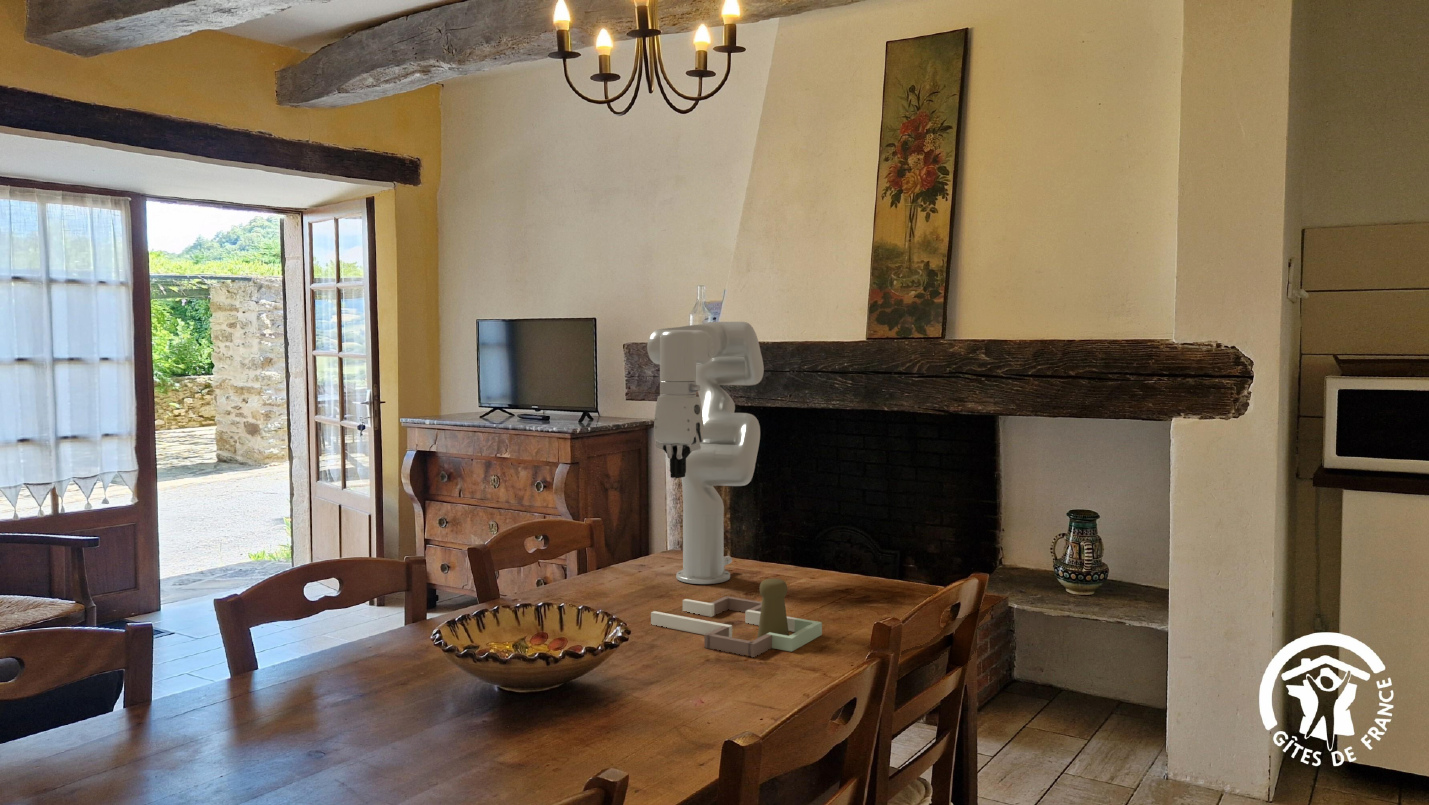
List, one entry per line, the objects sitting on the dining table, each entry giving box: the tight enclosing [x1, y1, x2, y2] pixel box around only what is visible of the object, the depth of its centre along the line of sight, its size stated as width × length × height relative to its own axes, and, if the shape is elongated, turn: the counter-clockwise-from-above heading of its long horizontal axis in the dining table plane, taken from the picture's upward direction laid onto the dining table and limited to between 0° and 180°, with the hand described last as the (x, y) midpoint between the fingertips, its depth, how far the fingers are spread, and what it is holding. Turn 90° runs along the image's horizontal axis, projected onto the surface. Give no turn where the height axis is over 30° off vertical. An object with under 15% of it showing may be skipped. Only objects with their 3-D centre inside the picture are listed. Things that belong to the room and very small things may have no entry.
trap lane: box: [650, 595, 823, 658], centre depth 190 cm, size 25×31×2 cm
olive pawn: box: [757, 578, 790, 638], centre depth 185 cm, size 6×6×11 cm
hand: (677, 477), depth 207 cm, fingers closed
